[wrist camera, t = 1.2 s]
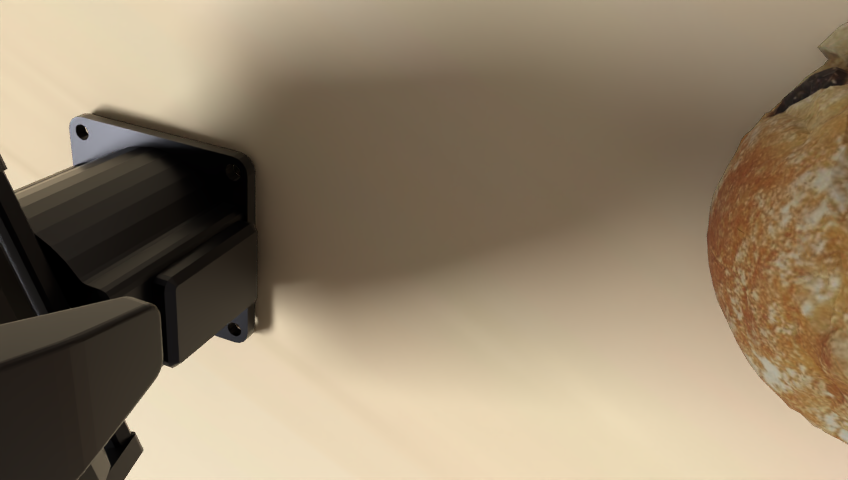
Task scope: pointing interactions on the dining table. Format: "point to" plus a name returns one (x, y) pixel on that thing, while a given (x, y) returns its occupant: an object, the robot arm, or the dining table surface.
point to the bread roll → (791, 244)
